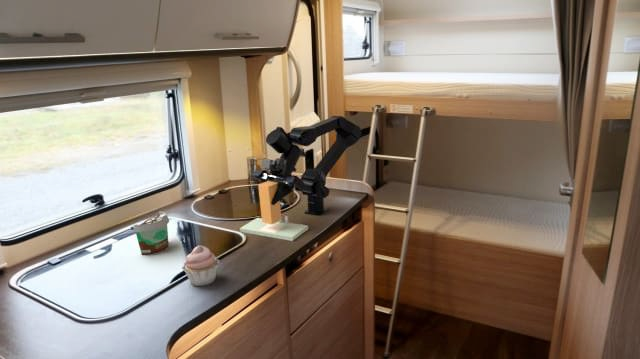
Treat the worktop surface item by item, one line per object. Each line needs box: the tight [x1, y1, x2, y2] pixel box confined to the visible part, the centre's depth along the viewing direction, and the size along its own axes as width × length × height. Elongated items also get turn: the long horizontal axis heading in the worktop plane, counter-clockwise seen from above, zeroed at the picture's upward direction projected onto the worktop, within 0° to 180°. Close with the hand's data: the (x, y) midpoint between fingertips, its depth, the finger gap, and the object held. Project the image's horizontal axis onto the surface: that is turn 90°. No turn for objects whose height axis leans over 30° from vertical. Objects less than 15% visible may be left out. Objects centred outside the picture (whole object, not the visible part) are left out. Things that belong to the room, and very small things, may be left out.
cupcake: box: [181, 245, 220, 287], centre depth 116 cm, size 9×9×10 cm
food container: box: [133, 211, 170, 256], centre depth 137 cm, size 12×6×10 cm, turn 161°
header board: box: [239, 215, 309, 242], centre depth 147 cm, size 10×20×4 cm, turn 62°
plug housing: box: [258, 181, 282, 225], centre depth 144 cm, size 4×4×13 cm
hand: (266, 203), depth 143 cm, fingers closed on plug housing, 4 cm apart
